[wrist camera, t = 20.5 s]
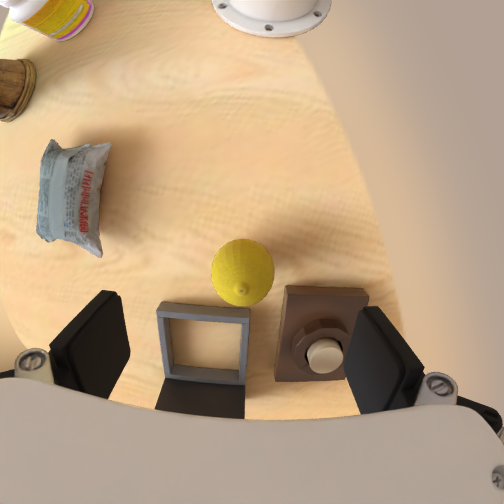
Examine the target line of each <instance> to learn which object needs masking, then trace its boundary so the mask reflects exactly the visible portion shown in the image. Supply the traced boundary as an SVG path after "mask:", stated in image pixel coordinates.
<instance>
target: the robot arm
mask: <svg viewBox="0 0 504 504" xmlns="http://www.w3.org/2000/svg"><path fill="white" fill-rule="evenodd" d="M211 1H212V5H213V7H214V9H215V11H216V13H217V14H218V15H219V17H220V18H221V19H222V20H224V21H225V22H226V23H227V24H229V25H230V26H232V27H234V28H236V29H237V30H240V31H243V32H245V33H248V34H252V35H256V36H262V37H270V38H278V37H290V36H296V35H299V34H302V33H306V32H308V31H309V30H312V29H314V28H315V27H316V26H318V25H319V24H320V23H321V22H322V21H323V20H324V19H325V17H326V16H327V14H328V12H329V10H330V7H331V0H211ZM267 30H271V31H267ZM49 346H50V349H51V350H50V351H49V352H48V353H47V352H46V351H45V350H43V349H40V348H31V349H28V350H25V351H24V352H22V353H21V354H20V355H19V356H18V357H17V358H16V360H15V369H13V370H9V371H5V372H1V373H0V504H504V427H503V426H502V425H503V424H502V418H501V416H500V415H499V413H498V412H497V411H496V410H495V409H493V408H491V407H488V406H485V405H482V404H480V403H477V402H474V401H471V400H469V399H466V398H463V397H461V396H458V395H457V394H458V386H457V384H456V382H455V381H454V380H453V379H452V378H451V377H450V376H448V375H446V374H444V373H440V372H431V373H428V374H427V375H425V374H424V372H423V370H424V366H423V364H422V363H421V362H420V360H419V359H418V358H417V356H416V355H415V354H414V352H413V351H412V349H411V348H410V347H409V345H408V344H407V343H406V341H405V340H404V339H403V337H402V336H401V335H400V333H399V332H398V331H397V330H396V328H395V327H394V326H393V324H392V323H391V322H390V321H389V319H388V318H387V317H386V315H385V314H384V313H383V312H382V310H381V309H380V308H379V307H378V306H365V307H363V309H362V310H359V312H358V315H357V318H356V322H355V326H354V330H353V333H352V337H351V340H350V344H349V347H348V351H347V354H346V357H345V360H344V365H343V369H344V373H345V375H346V378H347V380H348V383H349V385H350V388H351V390H352V393H353V395H354V398H355V400H356V403H357V406H358V408H359V411H360V413H361V415H353V416H344V417H333V418H319V419H298V420H252V419H231V418H217V417H206V416H197V415H189V414H181V413H174V412H167V411H161V410H155V409H149V408H144V407H139V406H134V405H129V404H125V403H120V402H116V401H112V400H108V398H109V396H110V394H111V392H112V390H113V388H114V386H115V384H116V382H117V380H118V378H119V377H120V375H121V373H122V371H123V369H124V367H125V365H126V364H127V362H128V360H129V358H130V346H129V341H128V336H127V331H126V325H125V319H124V313H123V307H122V300H121V297H120V296H118V295H117V293H116V292H115V291H107V290H102V291H101V292H100V293H99V294H98V295H97V296H96V297H95V298H94V299H93V300H91V301H90V302H89V303H88V304H87V305H86V307H85V308H84V309H83V310H82V311H81V312H80V313H79V314H78V315H77V316H76V317H75V318H74V319H73V320H72V321H71V322H70V323H69V324H68V325H67V326H66V327H65V328H64V329H63V330H62V331H61V332H60V334H59V335H58V336H57V337H56V338H55V339H54V340H53V341H52V342H51V343H50V344H49Z"/></svg>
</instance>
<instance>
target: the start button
mask: <svg viewBox="0 0 504 504" xmlns="http://www.w3.org/2000/svg"><path fill="white" fill-rule="evenodd" d="M307 357H308V361H309V365H310V368H311V369H312V370H313V371H314V372H317V373H329V372H332V371H334V370H335V369H337V368H338V367H339V366H340V365H341V363H342V361H343V353H342V351H341V349H340V346H339V344H338V343H337V342H336V341H335V340H333V339H331V338H323V339H319V340H317V341H315V342H314V343H312V344H311V345H310V347H309V348H308V351H307Z"/></svg>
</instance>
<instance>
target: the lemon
mask: <svg viewBox="0 0 504 504" xmlns="http://www.w3.org/2000/svg"><path fill="white" fill-rule="evenodd" d="M211 277H212V283H213V286H214V288H215V290H216V292H217V293H218V295H219V296H220V297H221V298H222V299H223V300H225V301H226V302H227V303H229V304H232V305H235V306H240V307H241V306H250V305H254V304H256V303H258V302H259V301H261V300H262V299H263V298H264V297H265V296H266V295H267V294H268V292H269V290H270V289H271V287H272V284H273V280H274V264H273V260H272V258H271V256H270V254H269V253H268V251H267V250H266V249H265V248H264V247H263V246H262V245H260V244H259V243H257V242H255V241H252V240H249V239H238V240H233V241H231V242H229V243H227V244H226V245H224V246H223V247H222V248H221V249H220V250H219V251H218V253H217V254H216V255H215V258H214V260H213V263H212V269H211Z"/></svg>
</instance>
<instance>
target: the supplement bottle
mask: <svg viewBox="0 0 504 504" xmlns="http://www.w3.org/2000/svg"><path fill="white" fill-rule="evenodd" d="M0 5H2V6H4V7H10V12H9V13H10V17H11V19H12V20H13V21H15V22H17V23H20V24H22V25H24V26H27V27H29V28H31V29H33V30H35V31H37V32H40V33H42V34H44V35H46V36H48V37H50V38H52V39H54V40H56V41H65V40H68V39H70V38H72V37H74V36H75V35H77V34H78V33H79V32H80V31H81V30H82V29H83V28H84V27H85V26H86V25H87V23H88V22H89V20H90V19H91V17H92V15H93V11H94V4H93V2H92V1H91V0H0Z"/></svg>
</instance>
